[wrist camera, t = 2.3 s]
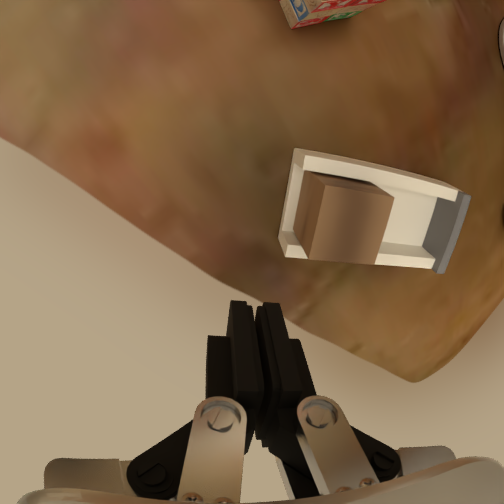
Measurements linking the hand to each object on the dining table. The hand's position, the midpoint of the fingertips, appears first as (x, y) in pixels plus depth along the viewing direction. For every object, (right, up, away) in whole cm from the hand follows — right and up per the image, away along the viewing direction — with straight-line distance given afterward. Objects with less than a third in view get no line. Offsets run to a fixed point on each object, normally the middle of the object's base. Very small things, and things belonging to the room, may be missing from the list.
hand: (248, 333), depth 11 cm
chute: (+12, +8, +19) cm, 24 cm away
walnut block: (+7, +7, +17) cm, 20 cm away
